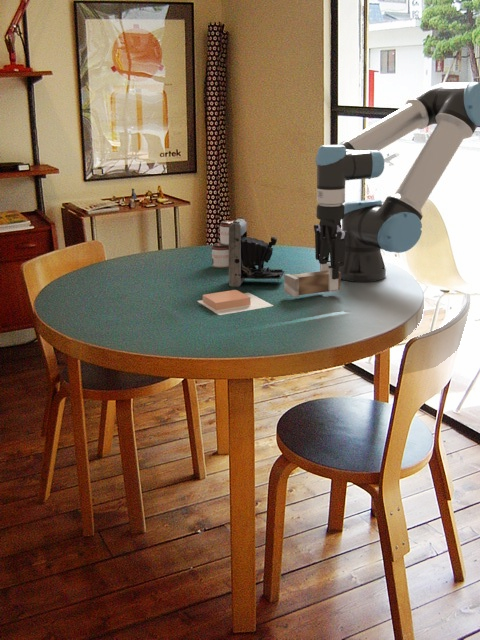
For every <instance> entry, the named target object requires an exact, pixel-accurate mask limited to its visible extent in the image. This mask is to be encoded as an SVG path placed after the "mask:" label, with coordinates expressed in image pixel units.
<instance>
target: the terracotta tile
mask: <svg viewBox="0 0 480 640" xmlns="http://www.w3.org/2000/svg"><path fill="white" fill-rule="evenodd" d="M202 300H203V303H204V304H205V305H207V306H208V307H210V308H212V309H213V310H215V311H216V312H217V311H224V310H230V309H236V308H242V307H248V306H250V305H251V301H250V297H249V296H247V295H245V294H244V292H242V291H240V290H237V289H231V290H225V291H218V292H211V293H206V294H202Z"/></svg>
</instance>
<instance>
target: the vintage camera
mask: <svg viewBox="0 0 480 640" xmlns="http://www.w3.org/2000/svg"><path fill="white" fill-rule="evenodd" d="M247 232H248V222H247V220H246V219H245V218H244V217H243V216H238V218H237V219H236V221H234V222H233V223H232V224H231V225H230V227H229V268H228V285H229V286H230V287H237V288H238V287H240V286H241V285H242V284H243V282H244V281H245V280H246V279H250V280H251V279H252V280H273V279H274V280H277V283H278V285H279V284H280V283H279V281H280V280H281V279H282V277H283V276H284V274H285V270H283V269H281V268H280V269H278V268H277V269H276V268H275V269H274V268H270V267H264V266H265V265H264V264H265V263H269V261H270V260H271V258H272V255H273V251H274V248H273V246H276V244H277V241H278V239H277V238H276V237H274V236H271V237H270V241H268V242H265V241H264V240H261V239H258V238H255V237H254V238H252V237H249V236H248V233H247ZM256 266H257V267H256ZM250 268H251V269H250Z"/></svg>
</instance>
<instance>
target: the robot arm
mask: <svg viewBox="0 0 480 640" xmlns="http://www.w3.org/2000/svg"><path fill="white" fill-rule="evenodd" d="M431 125H436V126H435V127H434V129H433V130H432V133H431V134H430V136H429V137H428V139H427V141H425V144H424V145H423V146H422V149H421V150H420V152H419V154H418V156H417V157H416V158H415V160H414V162H413V164H412V165H411V167H410V168H409V171H407V174H406V176H405V177H404V179H403V180H402V182H401V183H400V185H399V187H398V189H397V190H396V192H395V193H394V194H392V195H389V196H387V197H386V198H385V200H384V201H382V199H366V200H364V199H363V200H356V201H348V202H346V181H353V180H367V179H368V180H371V179H375V178H378V177H380V176H381V175H382V174H383V172H384V169H385V158H384V156H383V154H382V153H381V152H380V151H381V150H383V149H384V148H386V147H388V146H390V145H391V144H394V143H395V142H396V141H398V140H400V139H402V138H404V137H406V136H407V135H408V134H410V133H411V132H413V131H416V130H417V129H418V130H424V129H425V128H427V127H429V126H431ZM478 127H480V81H474V80H473V81H469V82H465V81H464V82H462V81H461V82H458V81H457V82H456V81H455V82H453V81H452V82H449V81H448V82H442V83H439V84H435V85H434V86H431V87H429V88H427V89H425V90H423V91H422V92H420V93H418V94H416V95H414V96H413V97H411V98H409V99H408V100H406V102H405V105H404V106H402V107H401V108H399V109H397V110H396V111H394V112H392V113H390V114H388V115H387V116H385V117H383V118H382V119H380V120H378V121H377V122H375V123H373V124H372V125H369V126H368V127H367V128H364V129H363V130H360V131H359V132H357V133H356V134H354V135H351V137H349V138H347V139H345V140H344V141H342V142H339V143H338V144H323V145H319V147H318V149H317V154H316V156H315V165H316V203H317V205H316V214H315V215H316V219H317V220H319V223H318V224H313V231H314V242H315V243H314V249H315V250H314V251H315V252H314V253H315V260H316V261H318V264H319V267H320V268H319V272H320V271H328V270H329V283H328V290H329V291H328V292H333V291H332V290H336V291H339V290H338V278H339V272H341V280H343V281H349V282H359V283H365V282H375V281H380V280H383V279H385V278H386V275H387V273H386V272H387V271H386V269H387V268H386V266H385V263H384V259H383V256H382V255H383V254H382V252H381V250H384V251H385V252H388V253H398V254H399V253H400V254H401V253H406V252H407V251H410V250H411V249H413V248H414V247H415V246H416V245H417V243H418V242H419V240H420V238H421V235H422V228H423V224H422V219H423V217H424V215H423V211H422V209H423V207H424V205H425V204H426V202H427V200H428V199H429V198H430V195H431V194H432V192H433V190H434V189H435V187H436V185H437V184H438V183H439V180H440V179H441V177H442V176H443V174H444V173H445V170H446V169H447V167H449V164H450V162H451V161H452V159H453V157H454V156H455V154H456V153H457V150H458V149H459V147H460V146H461V144H462V142H463V140H465V139H468V138H469V139H470V138H471V137H472V136H473V135H474V133H475V132H476V130H477V128H478Z"/></svg>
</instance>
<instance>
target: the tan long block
mask: <svg viewBox="0 0 480 640" xmlns="http://www.w3.org/2000/svg"><path fill="white" fill-rule="evenodd" d="M283 276H284V278H283V279H284V280H283V292H284V293H285V294H287V295H289V296H290V297H291V296H292V297H293V298H299V297H300V296H304V295H311V294H319V293H321V294H322V293H327V292H330V291H329V290H328V283H329V270H328V271H320V270H319V271H313V272H304V273H303V272H301V273H297V274H295V273H294V274H289V273H286V274H285V273H284V274H283ZM341 280H342V279H341V272H339V278H338V290H332V291H331V292H333V291H341V284H342V281H341Z"/></svg>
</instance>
